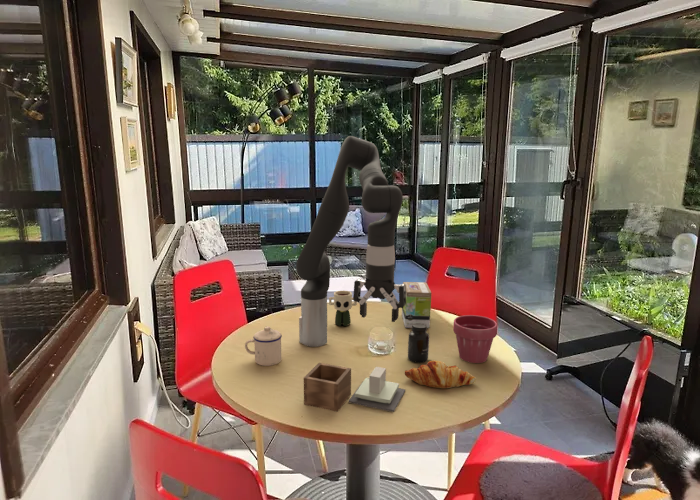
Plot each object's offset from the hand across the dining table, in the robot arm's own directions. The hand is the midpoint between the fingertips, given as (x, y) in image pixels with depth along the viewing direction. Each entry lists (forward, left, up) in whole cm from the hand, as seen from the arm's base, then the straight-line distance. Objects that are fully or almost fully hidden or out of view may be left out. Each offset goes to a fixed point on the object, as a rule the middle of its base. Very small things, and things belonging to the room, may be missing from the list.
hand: (378, 318), depth 131 cm
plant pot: (+22, +37, -24) cm, 49 cm away
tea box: (-4, +63, -24) cm, 67 cm away
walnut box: (-12, -6, -23) cm, 27 cm away
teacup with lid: (-42, +9, -24) cm, 49 cm away
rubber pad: (0, 0, -23) cm, 23 cm away
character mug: (-30, +49, -24) cm, 62 cm away
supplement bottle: (+5, +29, -24) cm, 37 cm away
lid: (0, 0, -23) cm, 23 cm away
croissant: (+15, +15, -24) cm, 32 cm away
